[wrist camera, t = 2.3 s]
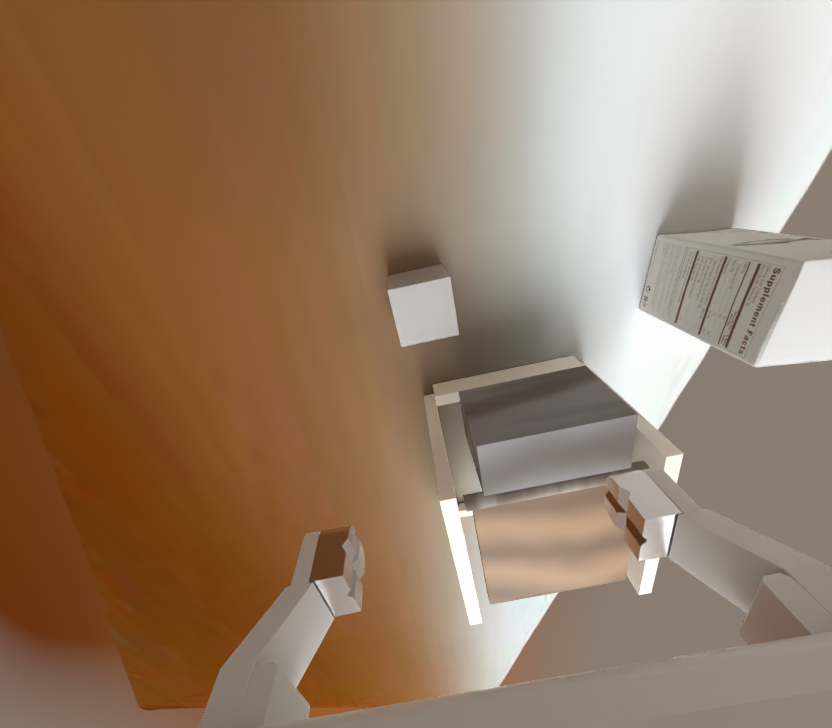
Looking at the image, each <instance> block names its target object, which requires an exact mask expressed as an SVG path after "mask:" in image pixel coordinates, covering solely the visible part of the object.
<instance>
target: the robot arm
mask: <svg viewBox="0 0 832 728" xmlns="http://www.w3.org/2000/svg"><path fill="white" fill-rule="evenodd" d="M606 487H607V488H608V489H609V491H608V492H607V493H606V494H605V506H606V510H607V513H608V515H609V517H610V519H611V521H612V522H613V524H614V525H615V527H617V528H619V529H620V530H622V531H624V532H625V537H624V540H625V542H626V543H627V545H628V546H629V548H630V549H631V551H632V552H633V554H634V555H635V557H636V558H637V560H638V561H642V560H649V559H655V558H662V557H669V559H670V560H672V561H673V562H675V563H676V564H678V565H679V566H680V567H682V568H683V569H685V570H686V571H688V572H689V573H690V574H692V575H693V576H695V577H696V578H698V579H699V580H700V581H702V582H703V583H705V584H706V585H707V586H709V587H710V588H712V589H713V590H715V591H716V592H718V593H719V594H720V595H722V596H723V597H724V598H726V599H727V600H729V601H730V602H732V603H733V604H734V605H736V606H737V607H739V608H740V609H742V610H743V611H744V612H746V615H745V618H744V620H743V622H742V625H741V627H740V631H739V634H740V635H741V637H742V638H743V639H744V641H745V642H746V643H747V644H748V645H745V646H739V647H733V648H727V649H721V650H715V651H709V652H703V653H697V654H691V655H685V656H679V657H673V658H667V659H662V660H655V661H650V662H643V663H637V664H632V665H625V666H619V667H613V668H607V669H602V670H596V671H589V672H583V673H578V674H572V675H566V676H560V677H553V678H548V679H541V680H535V681H529V682H523V683H518V684H512V685H506V686H500V687H494V688H488V689H482V690H476V691H470V692H464V693H458V694H452V695H446V696H440V697H434V698H428V699H422V700H416V701H410V702H404V703H398V704H392V705H386V706H380V707H374V708H368V709H363V710H356V711H351V712H345V713H339V714H333V715H327V716H321V717H315V718H309V719H308V717H309V710H310V706H309V704H308V702H307V701H306V699H305V698H304V697H303V696H302V695H301V693H300V692H299V691H298V690H297V689H296V687H297V686H298V684H299V682H300V680H301V678H302V676H303V675H304V673H305V671H306V669H307V667H308V665H309V664H310V662H311V660H312V658H313V656H314V655H315V653H316V651H317V649H318V647H319V645H320V644H321V642H322V640H323V638H324V636H325V634H326V633H327V631H328V629H329V627H330V625H331V623H332V622H333V620H334V617H335V616H340V615H344V614H349V613H354V612H358V611H361V605H362V593H363V587H362V585H361V582H360V578H361V577H362V575H363V574H364V567H365V560H364V551H363V547H362V544H361V542H360V541H359V540H357V539H356V531H355V529H354V526H349V527H343V528H337V529H331V530H324V531H319V532H313V533H308V534H306V535H305V537H304V539H303V542H302V545H301V549H300V553H299V557H298V560H297V564H296V568H295V572H294V575H293V579H292V583H291V586H290V587H286V588H285V589H284V590H283V592H282V593H281V594H280V595H279V597H278V598H277V599H276V600H275V602H274V603H273V604H272V605H271V607H270V608H269V609H268V610H267V612H266V613H265V614H264V615H263V617H262V618H261V619H260V620H259V622H258V623H257V624H256V625H255V627H254V628H253V629H252V630H251V632H250V633H249V634H248V635H247V637H246V638H245V639H244V640H243V642H242V643H241V644H240V645H239V647H238V648H237V649H236V650H235V652H234V653H233V654H232V655H231V657H230V658H229V659H228V660H227V662H226V663H225V664H224V665H223V667H222V668H221V669H220V671H219V674H218V677H217V680H216V682H215V685H214V688H213V690H212V693H211V696H210V699H209V701H208V704H207V707H206V709H205V712H204V715H203V717H202V720H201V723H200V726H199V728H832V570H831V569H830V568H829V567H828V566H826V565H825V564H824V563H822V562H820V561H817V560H815V559H813V558H811V557H809V556H807V555H805V554H802V553H800V552H798V551H796V550H794V549H792V548H790V547H787V546H785V545H783V544H781V543H779V542H776V541H774V540H772V539H770V538H768V537H766V536H764V535H762V534H760V533H757V532H755V531H753V530H751V529H749V528H747V527H745V526H742V525H740V524H738V523H736V522H734V521H732V520H730V519H727V518H725V517H723V516H721V515H719V514H716V513H715V512H713V511H710V510H708V509H707V510H702V509H701V508H700V507H699V506H698V505H697V504H696V503H695V502H694V501H693V500H692V499H691V498H690V497H689V496H688V495H687V494H686V493H685V492H684V491H683V490H682V489H681V488H680V487H679V486H678V485H677V484H676V483H675V482H674V481H673V480H672V479H671V478H670V477H669V476H668V475H667V474H666V472H665V471H664V470H663V469H661V468H659V467H654V468H649V469H644V470H637V471H632V472H627V473H622V474H617V475H613V476H608V477H607V479H606Z"/></svg>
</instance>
